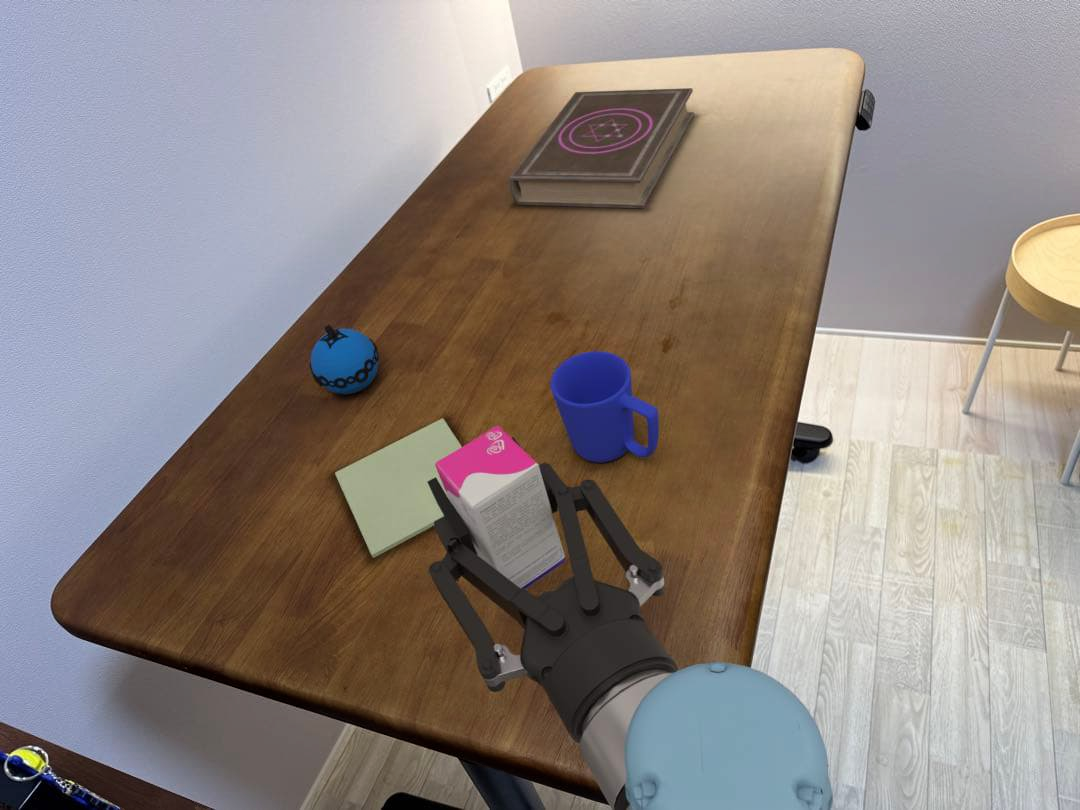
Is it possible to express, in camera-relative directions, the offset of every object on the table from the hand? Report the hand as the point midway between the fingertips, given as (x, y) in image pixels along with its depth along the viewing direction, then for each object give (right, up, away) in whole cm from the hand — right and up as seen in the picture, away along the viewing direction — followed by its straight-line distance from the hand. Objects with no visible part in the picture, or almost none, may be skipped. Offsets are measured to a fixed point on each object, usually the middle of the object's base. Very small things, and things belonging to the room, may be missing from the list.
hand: (475, 470), depth 62 cm
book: (+17, +47, +71) cm, 87 cm away
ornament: (-19, +8, +40) cm, 45 cm away
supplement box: (+3, -7, +1) cm, 8 cm away
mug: (+14, 0, +23) cm, 26 cm away
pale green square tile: (-9, -4, +25) cm, 27 cm away
